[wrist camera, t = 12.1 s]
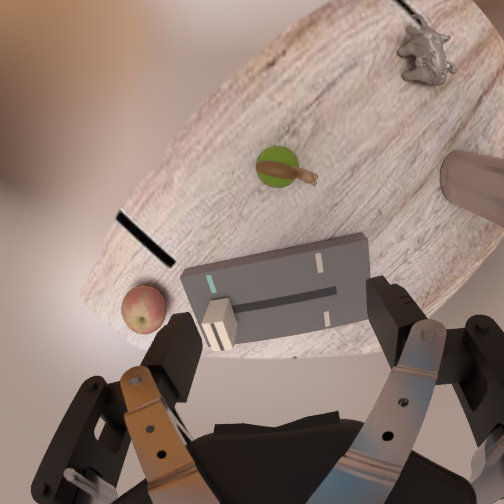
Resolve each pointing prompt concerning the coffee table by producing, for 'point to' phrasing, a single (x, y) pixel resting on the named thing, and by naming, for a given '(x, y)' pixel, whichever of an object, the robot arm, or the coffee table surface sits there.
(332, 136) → the coffee table surface
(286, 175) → the snail figurine
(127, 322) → the apple
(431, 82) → the grey animal figurine
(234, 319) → the fader
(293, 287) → the fader console
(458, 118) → the coffee table surface
